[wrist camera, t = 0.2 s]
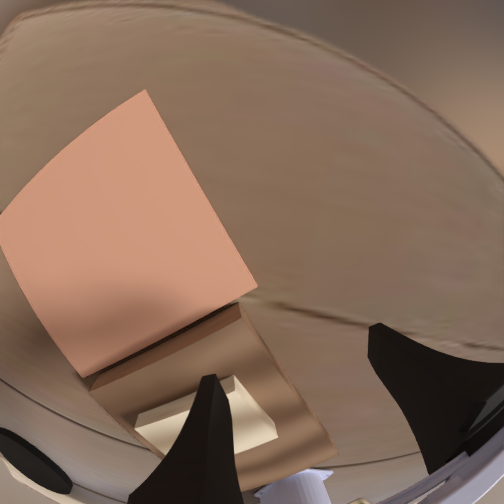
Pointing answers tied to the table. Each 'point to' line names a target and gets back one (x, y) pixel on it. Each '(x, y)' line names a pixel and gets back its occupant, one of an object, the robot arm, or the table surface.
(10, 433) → the wireless charger
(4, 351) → the table surface
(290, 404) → the walnut board
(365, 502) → the wooden puzzle
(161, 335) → the terracotta mat
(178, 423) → the birch tile
